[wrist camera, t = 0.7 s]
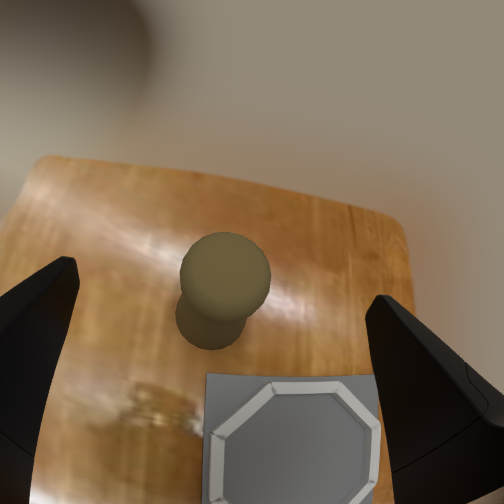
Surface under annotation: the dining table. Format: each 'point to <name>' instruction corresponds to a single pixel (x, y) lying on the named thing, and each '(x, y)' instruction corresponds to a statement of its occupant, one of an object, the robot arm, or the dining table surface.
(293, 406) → the collar plate
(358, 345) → the dining table surface
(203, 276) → the olive brown pawn
